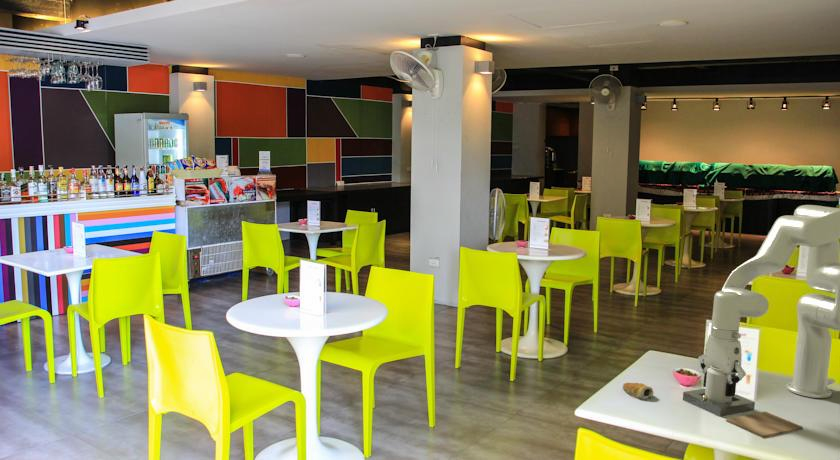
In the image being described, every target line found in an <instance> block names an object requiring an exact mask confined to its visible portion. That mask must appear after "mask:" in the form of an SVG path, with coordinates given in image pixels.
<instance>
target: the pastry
mask: <svg viewBox="0 0 840 460" xmlns="http://www.w3.org/2000/svg"><path fill="white" fill-rule="evenodd" d="M622 389H623V390H624V392H626V394H627V395H630V396H632V397H633V398H635V399H638V400H645V399H649V398H651V397H653V396H654V390H653V388H652V387H651V386H648V385H646V384H644V383H642V382H641V383H639V382H625V383H623V384H622Z"/></svg>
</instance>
